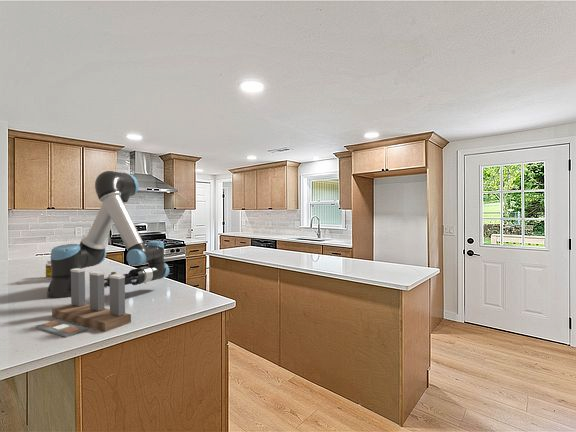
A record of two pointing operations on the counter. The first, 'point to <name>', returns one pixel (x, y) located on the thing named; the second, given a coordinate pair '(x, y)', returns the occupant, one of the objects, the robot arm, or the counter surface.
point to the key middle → (96, 290)
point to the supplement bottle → (48, 269)
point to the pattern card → (61, 328)
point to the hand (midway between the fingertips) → (91, 287)
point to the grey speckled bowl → (111, 274)
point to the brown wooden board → (91, 317)
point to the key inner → (78, 287)
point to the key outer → (117, 294)
